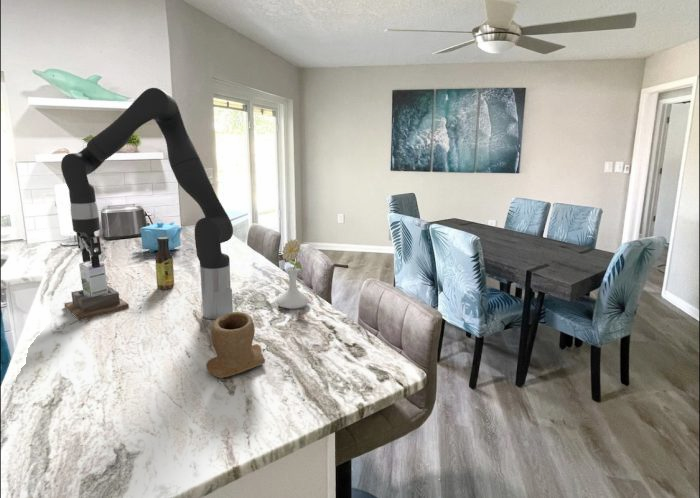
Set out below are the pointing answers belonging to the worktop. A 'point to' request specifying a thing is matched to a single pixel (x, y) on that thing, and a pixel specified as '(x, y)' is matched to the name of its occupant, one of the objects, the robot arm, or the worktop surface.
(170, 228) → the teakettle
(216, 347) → the stone cup
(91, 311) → the socket holder
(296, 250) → the flower in vase
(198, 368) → the worktop surface
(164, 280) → the sauce bottle
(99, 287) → the syrup box
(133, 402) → the worktop surface
